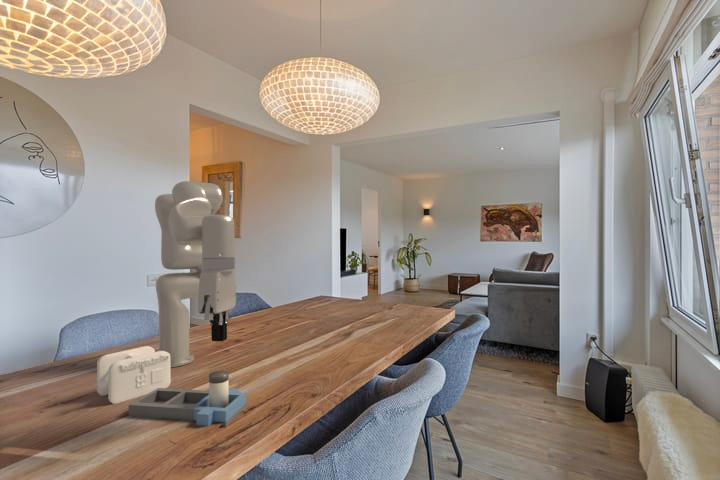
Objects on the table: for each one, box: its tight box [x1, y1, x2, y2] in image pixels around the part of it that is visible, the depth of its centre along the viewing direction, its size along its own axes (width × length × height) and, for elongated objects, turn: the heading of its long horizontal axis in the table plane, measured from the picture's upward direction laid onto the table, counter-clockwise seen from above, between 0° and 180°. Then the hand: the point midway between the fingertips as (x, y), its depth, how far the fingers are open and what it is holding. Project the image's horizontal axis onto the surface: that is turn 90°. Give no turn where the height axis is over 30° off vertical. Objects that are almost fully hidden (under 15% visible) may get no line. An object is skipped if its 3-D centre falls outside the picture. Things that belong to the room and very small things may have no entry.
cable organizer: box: [96, 345, 171, 405], centre depth 99 cm, size 15×11×12 cm
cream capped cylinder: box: [208, 370, 230, 408], centre depth 87 cm, size 4×4×9 cm
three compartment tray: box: [128, 387, 247, 427], centre depth 88 cm, size 25×14×4 cm, turn 81°
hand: (219, 340), depth 87 cm, fingers closed
